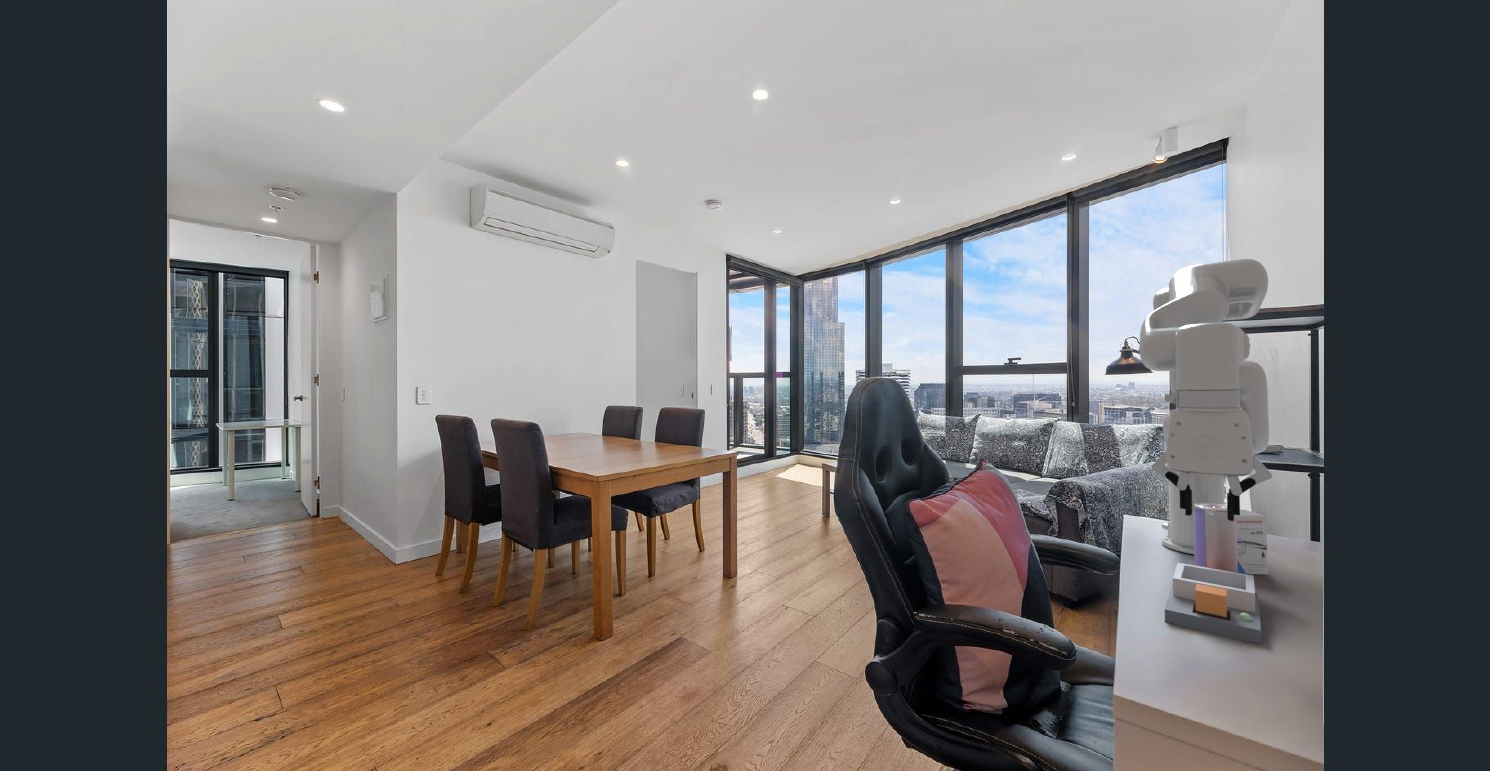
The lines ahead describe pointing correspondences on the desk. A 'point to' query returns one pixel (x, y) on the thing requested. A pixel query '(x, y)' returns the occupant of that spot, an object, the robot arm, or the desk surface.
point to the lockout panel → (1236, 625)
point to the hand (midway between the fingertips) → (1209, 515)
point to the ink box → (1251, 543)
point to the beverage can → (1215, 537)
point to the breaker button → (1211, 600)
